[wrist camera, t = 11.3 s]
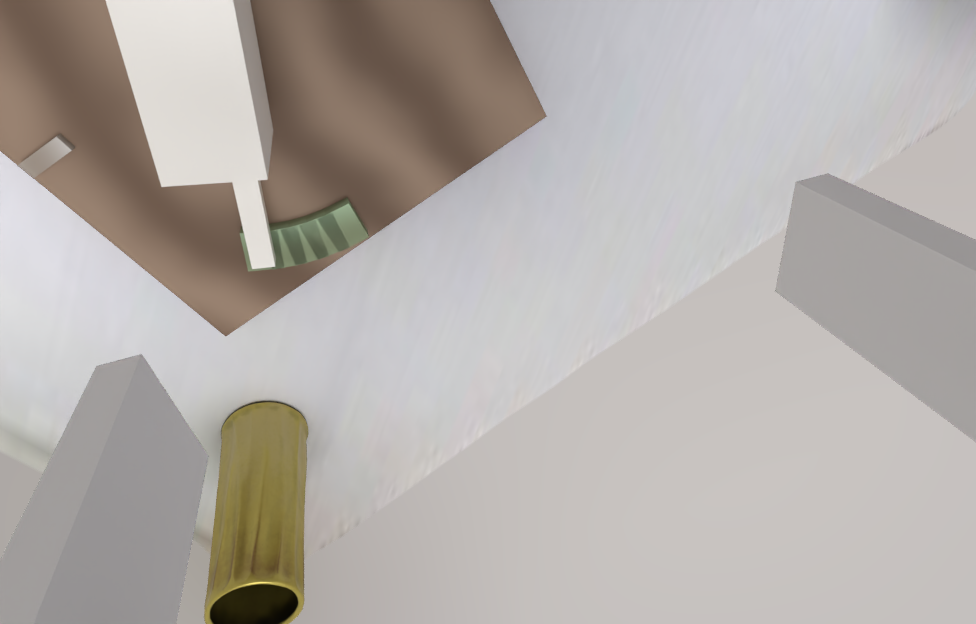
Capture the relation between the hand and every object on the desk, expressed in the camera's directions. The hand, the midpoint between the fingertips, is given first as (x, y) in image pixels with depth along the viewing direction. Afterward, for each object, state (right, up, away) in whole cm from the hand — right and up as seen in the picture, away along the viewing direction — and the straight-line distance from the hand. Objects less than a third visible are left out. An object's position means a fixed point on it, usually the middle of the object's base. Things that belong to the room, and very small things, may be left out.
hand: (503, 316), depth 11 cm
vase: (-17, -9, +31) cm, 37 cm away
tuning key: (-13, +10, +17) cm, 24 cm away
